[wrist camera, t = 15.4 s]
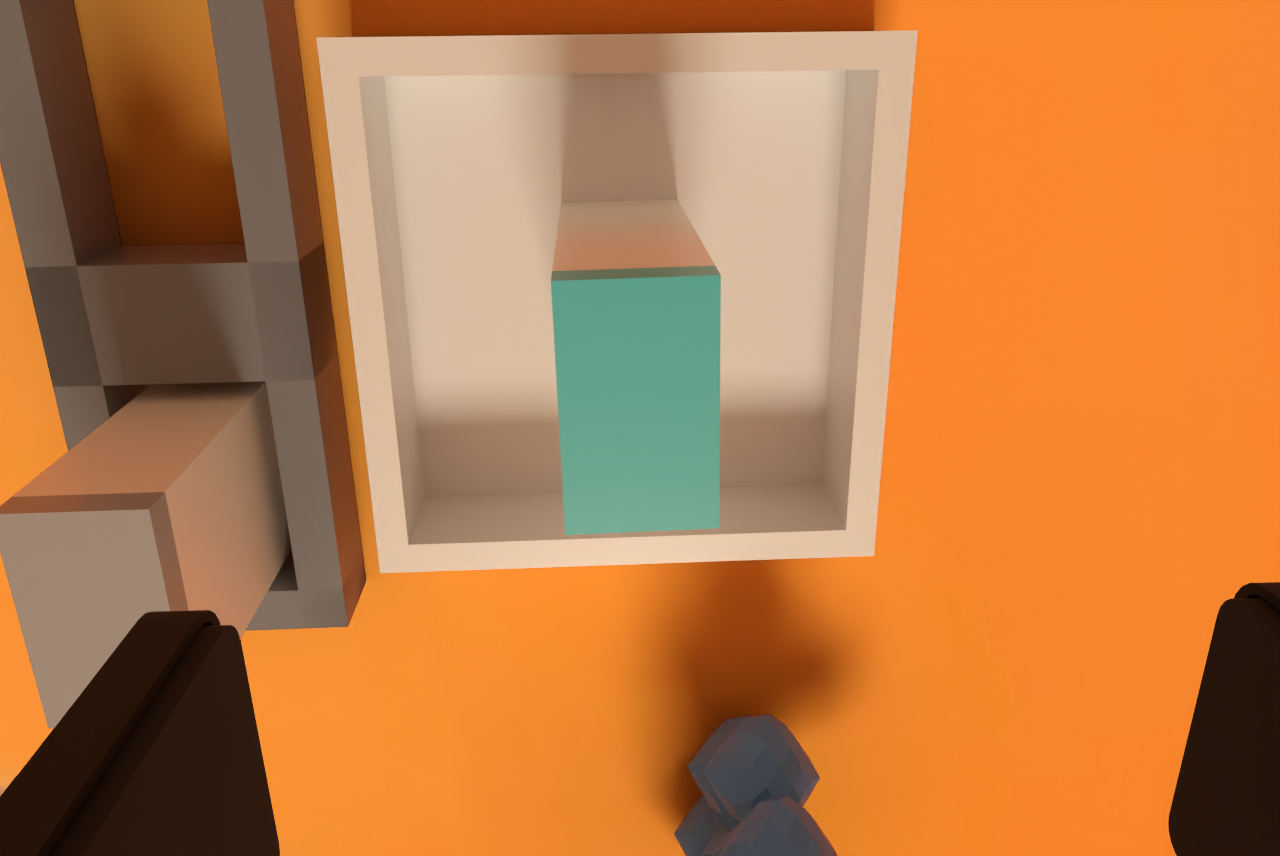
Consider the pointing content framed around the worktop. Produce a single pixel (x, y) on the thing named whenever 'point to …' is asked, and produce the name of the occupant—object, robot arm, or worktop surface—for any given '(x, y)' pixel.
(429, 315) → the tray
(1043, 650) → the worktop surface
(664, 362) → the block
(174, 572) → the block
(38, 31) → the frame
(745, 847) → the grapes
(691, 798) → the worktop surface
